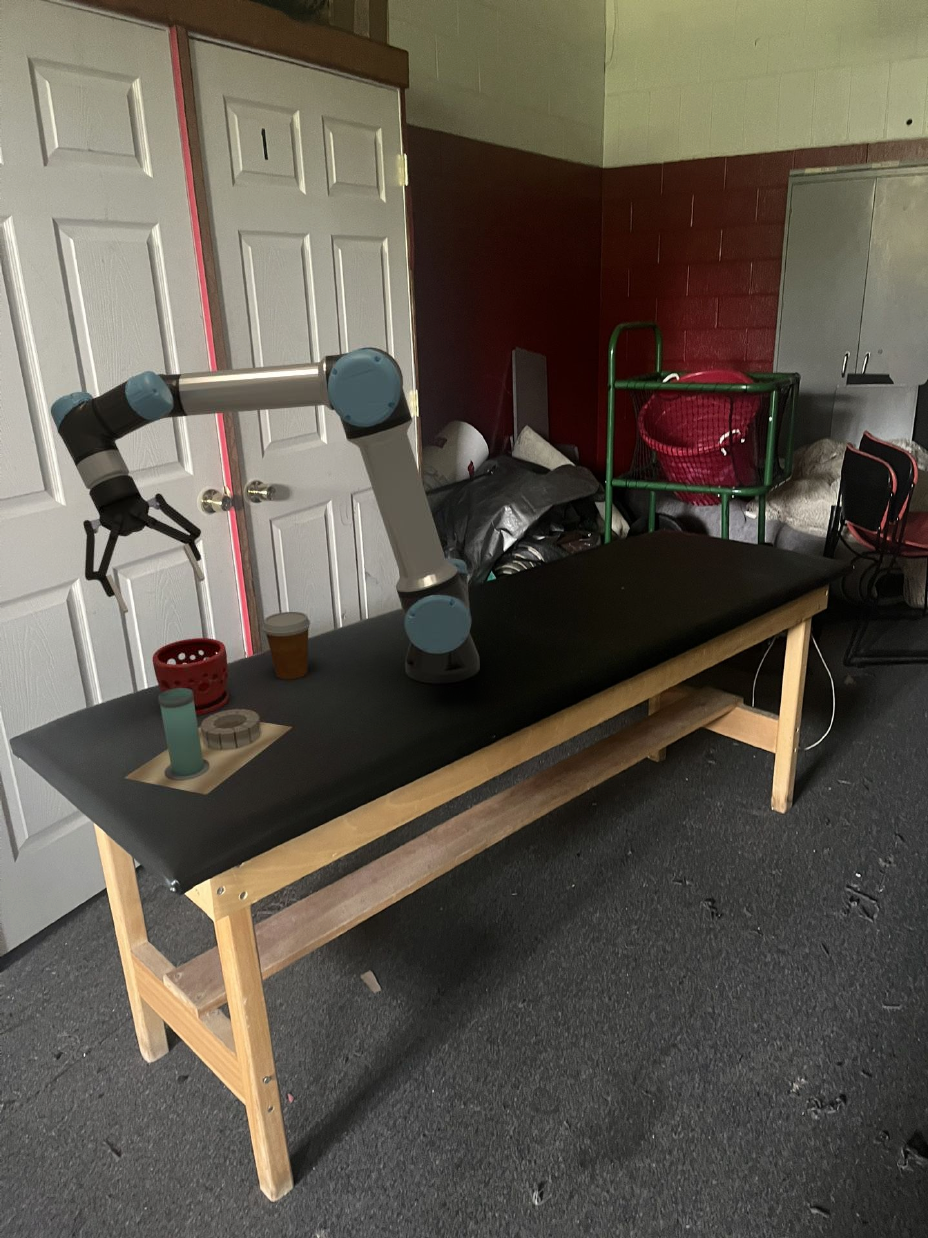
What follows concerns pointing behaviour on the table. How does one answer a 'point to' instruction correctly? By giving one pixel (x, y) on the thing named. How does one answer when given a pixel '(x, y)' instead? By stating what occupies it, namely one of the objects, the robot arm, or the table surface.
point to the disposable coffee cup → (288, 643)
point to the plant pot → (195, 671)
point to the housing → (215, 751)
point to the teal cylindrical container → (181, 731)
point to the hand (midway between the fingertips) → (164, 595)
